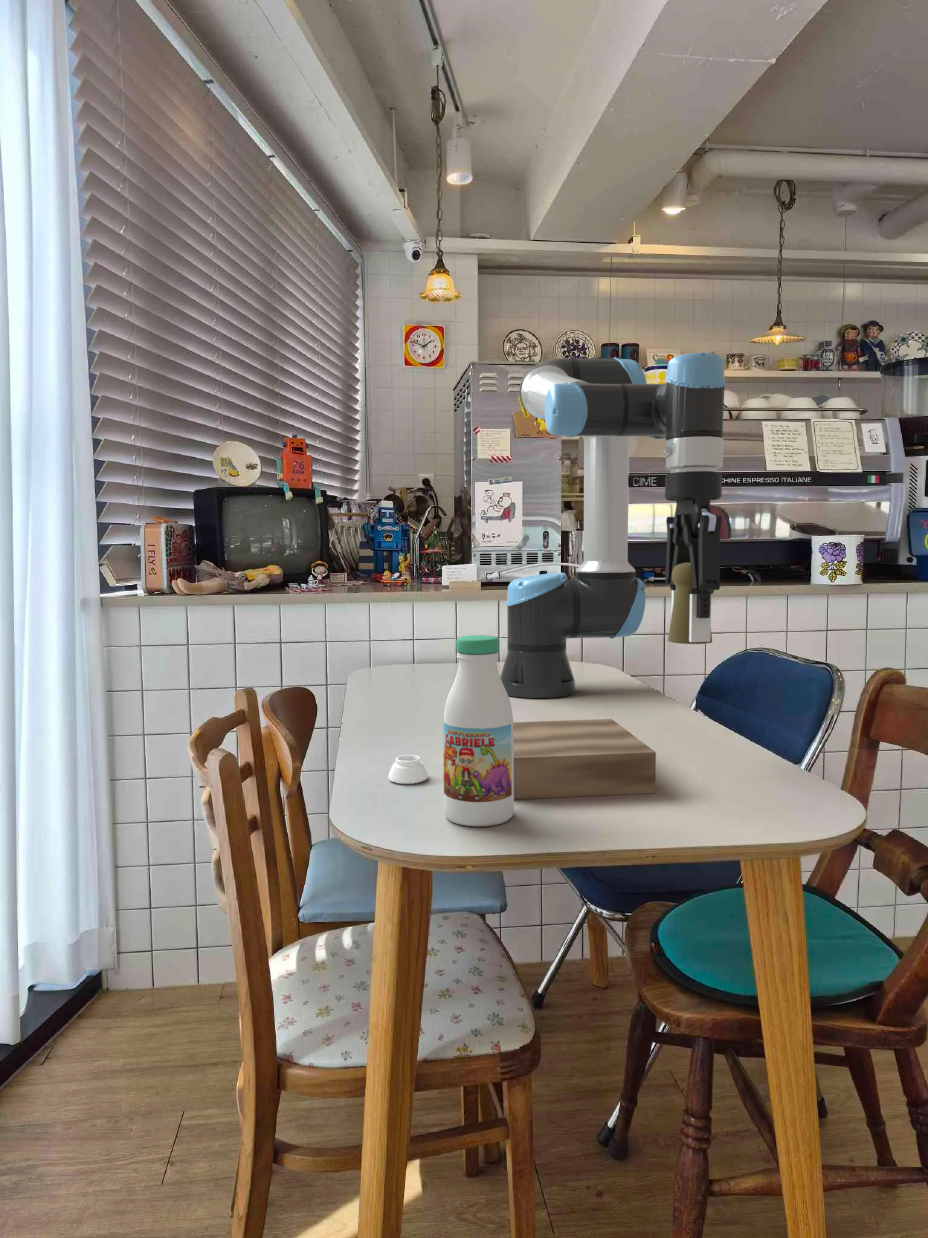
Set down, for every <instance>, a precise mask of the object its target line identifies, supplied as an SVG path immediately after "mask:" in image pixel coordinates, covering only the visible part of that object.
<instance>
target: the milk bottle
mask: <svg viewBox="0 0 928 1238" xmlns="http://www.w3.org/2000/svg"><path fill="white" fill-rule="evenodd" d="M499 644H500V642H499V638H498V637H496V636H492V635H483V634H482V635H481V634H477V635H476V634H475V635H463V636H459V637H458V638H456V644H455V645H456V646H455V647H456V652H457V653H456V658H457V659H458V667H457V671H456V676H455V677H454V681H453V684H452V686H451V688H450V691H449V693H448V695H447V698H446V701H445V706H444V711H443V738H442V739H443V742H442V743H443V751H442V752H443V754H442V755H443V807H444V808H443V809H444V814H445V817H446V819H447V820H449V821H450V822H452V823H454V824H457V825H461V826H466V827H490V826H497V825H501V824H504V823H506V822H508V821H510V819H511V818H512V816H513V814H514V806H515V805H514V804H515V800H514V748H513V722H514V721H513V719H514V718H513V710H512V709H513V707H512V703H511V700H510V697H509V695H508V694H507V692H506V690H505V688H504V685H503V683H502V681H501V678H500V676H501V674H500V672H499V668H498V664H497V663H498V660H497V659H498V658H499V655H500V654H499V650H500V645H499Z"/></svg>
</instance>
